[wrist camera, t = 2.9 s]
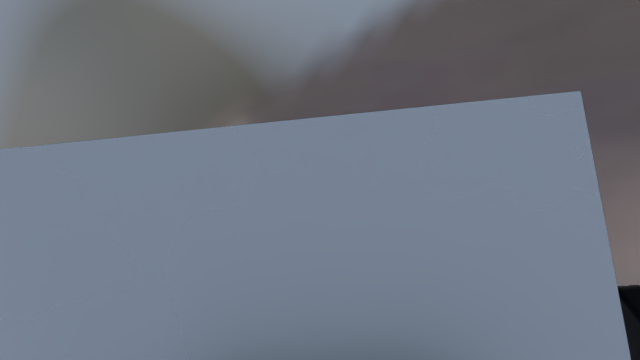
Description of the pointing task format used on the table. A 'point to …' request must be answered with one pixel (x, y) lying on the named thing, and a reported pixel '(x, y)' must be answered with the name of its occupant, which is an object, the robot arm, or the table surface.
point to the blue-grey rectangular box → (315, 240)
